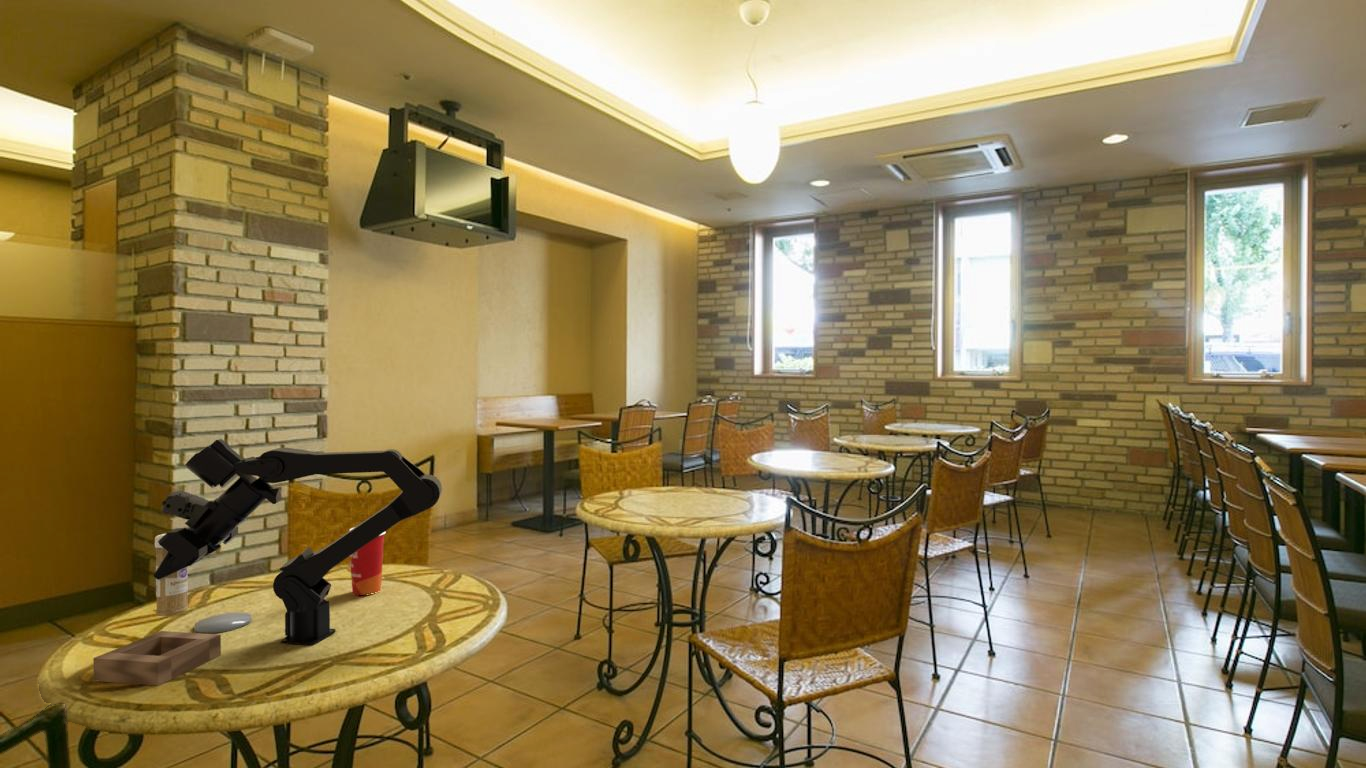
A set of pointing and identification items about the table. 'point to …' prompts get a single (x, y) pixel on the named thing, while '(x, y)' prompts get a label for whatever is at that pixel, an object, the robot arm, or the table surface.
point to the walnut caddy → (157, 658)
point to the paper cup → (367, 567)
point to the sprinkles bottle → (170, 587)
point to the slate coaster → (223, 622)
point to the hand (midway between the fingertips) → (162, 573)
